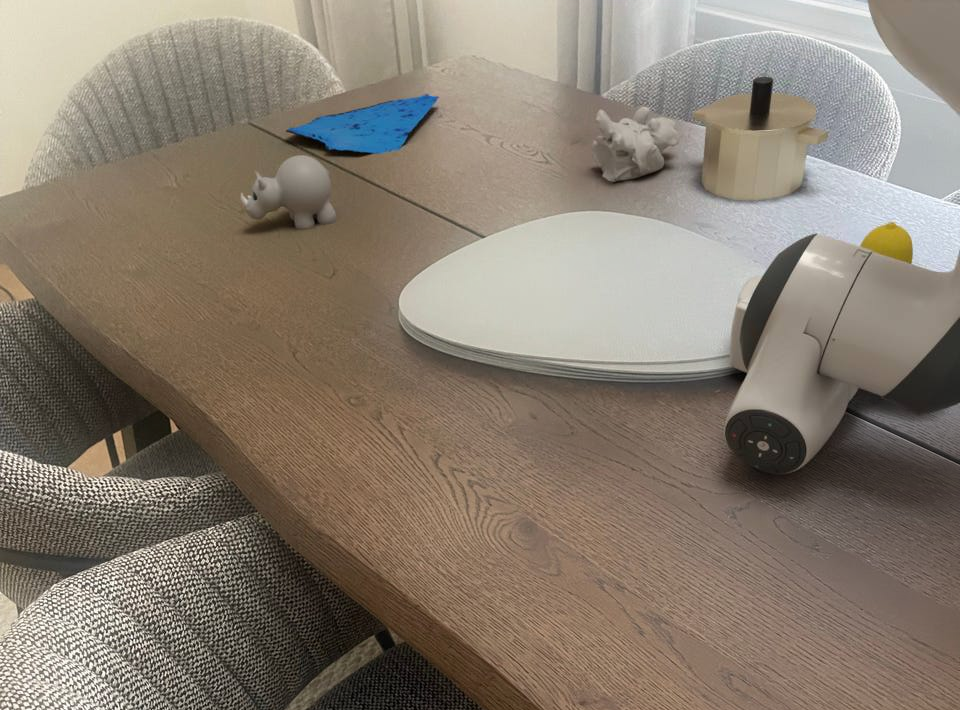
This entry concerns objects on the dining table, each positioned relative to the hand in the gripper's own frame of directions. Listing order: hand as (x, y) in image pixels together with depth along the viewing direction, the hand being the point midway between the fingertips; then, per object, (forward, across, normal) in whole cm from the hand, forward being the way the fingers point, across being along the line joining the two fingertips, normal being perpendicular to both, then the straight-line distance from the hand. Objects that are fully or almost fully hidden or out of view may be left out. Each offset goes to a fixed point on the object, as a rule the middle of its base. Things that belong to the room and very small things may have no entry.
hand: (864, 285), depth 96 cm
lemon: (+8, 0, +5) cm, 9 cm away
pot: (+32, +23, +5) cm, 40 cm away
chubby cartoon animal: (0, +74, +5) cm, 75 cm away
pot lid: (+32, +22, -4) cm, 39 cm away
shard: (+33, +86, +5) cm, 93 cm away
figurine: (+30, +38, +5) cm, 49 cm away
